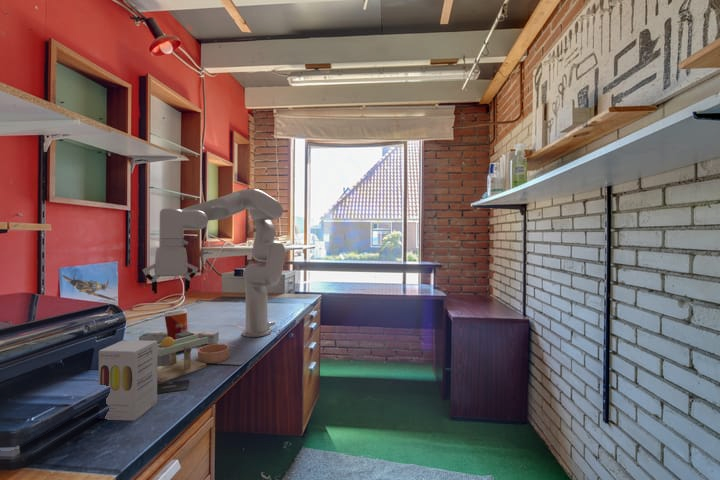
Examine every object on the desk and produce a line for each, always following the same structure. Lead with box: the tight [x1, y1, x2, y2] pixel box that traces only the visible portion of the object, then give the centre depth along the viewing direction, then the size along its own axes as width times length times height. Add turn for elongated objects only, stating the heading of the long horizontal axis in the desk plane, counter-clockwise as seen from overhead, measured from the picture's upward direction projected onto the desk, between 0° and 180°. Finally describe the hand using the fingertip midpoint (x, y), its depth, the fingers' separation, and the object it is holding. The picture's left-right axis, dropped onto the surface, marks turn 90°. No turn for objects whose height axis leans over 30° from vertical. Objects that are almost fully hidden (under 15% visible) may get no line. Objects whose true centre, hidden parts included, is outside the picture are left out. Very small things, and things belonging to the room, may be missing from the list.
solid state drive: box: [157, 379, 190, 395], centre depth 102 cm, size 7×10×1 cm
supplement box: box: [97, 339, 158, 422], centre depth 88 cm, size 10×9×17 cm
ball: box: [162, 337, 174, 348], centre depth 112 cm, size 4×4×4 cm
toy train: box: [138, 329, 220, 346], centre depth 143 cm, size 5×32×5 cm, turn 87°
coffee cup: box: [163, 308, 189, 352], centre depth 134 cm, size 8×8×15 cm
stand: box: [157, 347, 208, 383], centre depth 114 cm, size 15×11×8 cm
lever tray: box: [157, 331, 208, 366], centre depth 118 cm, size 17×15×6 cm
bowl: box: [197, 343, 230, 364], centre depth 126 cm, size 10×10×4 cm
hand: (171, 292), depth 123 cm, fingers open, 9 cm apart
